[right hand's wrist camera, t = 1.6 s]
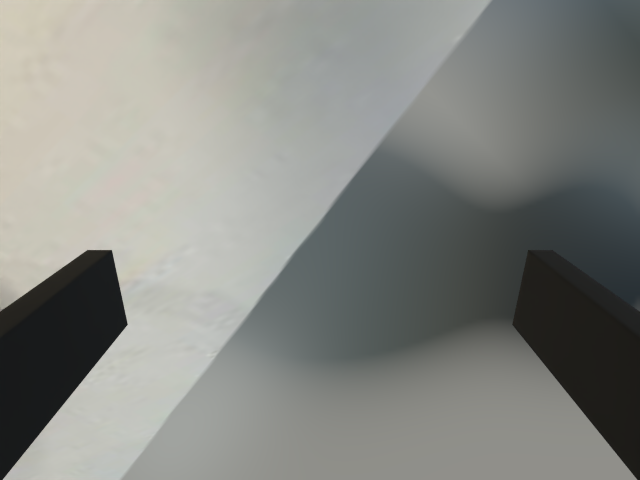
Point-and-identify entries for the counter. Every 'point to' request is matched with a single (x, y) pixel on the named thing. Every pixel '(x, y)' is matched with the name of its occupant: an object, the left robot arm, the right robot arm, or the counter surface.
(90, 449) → the counter surface
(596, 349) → the right robot arm
